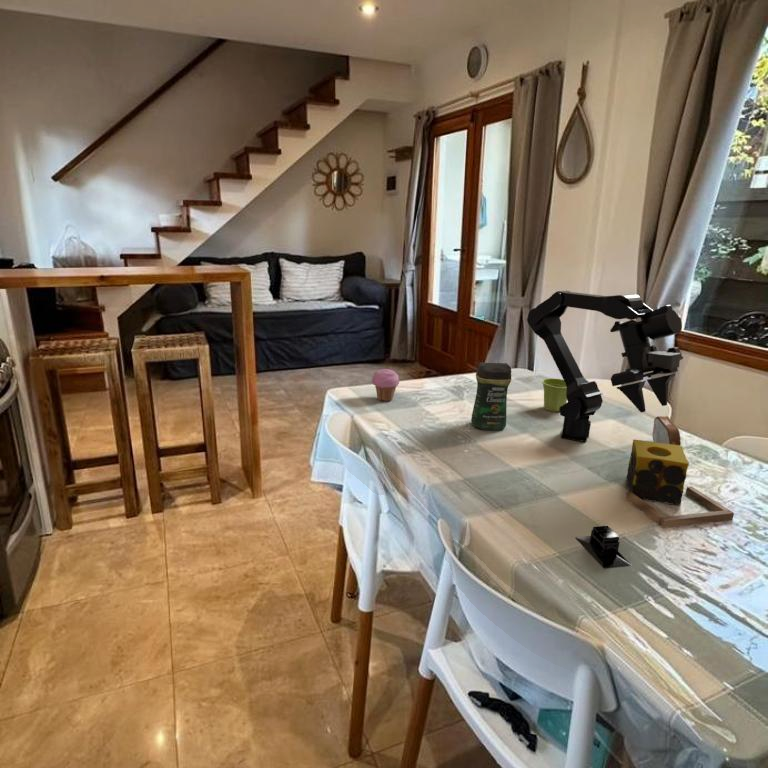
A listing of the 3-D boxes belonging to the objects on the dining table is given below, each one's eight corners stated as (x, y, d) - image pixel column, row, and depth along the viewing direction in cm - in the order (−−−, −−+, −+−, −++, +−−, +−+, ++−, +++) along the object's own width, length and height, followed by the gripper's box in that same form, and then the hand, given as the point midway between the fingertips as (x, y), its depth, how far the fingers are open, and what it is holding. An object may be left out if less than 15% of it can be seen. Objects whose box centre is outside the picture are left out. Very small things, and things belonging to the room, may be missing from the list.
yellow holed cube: (673, 485, 120) (682, 445, 117) (681, 507, 111) (691, 463, 108) (625, 477, 124) (632, 437, 121) (629, 497, 114) (637, 455, 111)
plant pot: (573, 408, 169) (576, 381, 166) (565, 416, 161) (569, 389, 158) (543, 401, 173) (547, 376, 171) (534, 409, 166) (538, 383, 163)
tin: (678, 464, 131) (685, 433, 129) (664, 463, 132) (671, 431, 129) (660, 440, 145) (666, 412, 143) (648, 439, 146) (654, 410, 143)
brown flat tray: (625, 498, 114) (626, 492, 113) (690, 492, 117) (691, 486, 117) (662, 527, 103) (664, 520, 103) (732, 519, 107) (734, 512, 107)
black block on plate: (566, 535, 101) (569, 514, 99) (601, 532, 102) (605, 511, 101) (604, 577, 89) (608, 554, 88) (643, 573, 90) (648, 550, 89)
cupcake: (398, 404, 166) (400, 373, 163) (370, 403, 166) (371, 372, 163) (398, 395, 175) (399, 366, 172) (371, 394, 175) (372, 365, 172)
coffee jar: (474, 431, 147) (480, 366, 142) (468, 420, 155) (474, 359, 149) (509, 431, 148) (516, 367, 142) (501, 421, 156) (507, 359, 150)
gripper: (645, 340, 115) (665, 410, 114) (690, 332, 126) (708, 396, 124) (601, 352, 125) (619, 417, 123) (646, 344, 135) (663, 404, 133)
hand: (654, 408), depth 126 cm, fingers open, 9 cm apart
